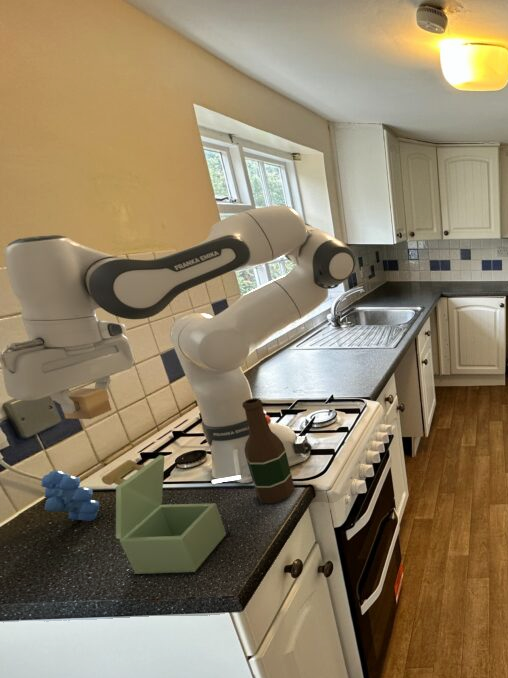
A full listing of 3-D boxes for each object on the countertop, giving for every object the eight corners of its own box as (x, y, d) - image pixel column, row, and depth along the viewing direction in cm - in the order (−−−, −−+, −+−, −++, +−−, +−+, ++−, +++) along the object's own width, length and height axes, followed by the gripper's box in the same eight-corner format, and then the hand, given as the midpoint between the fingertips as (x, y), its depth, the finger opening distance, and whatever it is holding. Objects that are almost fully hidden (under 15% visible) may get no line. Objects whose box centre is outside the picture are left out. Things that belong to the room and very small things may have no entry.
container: (226, 534, 84) (215, 503, 81) (194, 572, 75) (181, 539, 72) (173, 535, 83) (160, 504, 80) (134, 574, 74) (119, 540, 71)
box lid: (164, 456, 76) (136, 449, 75) (121, 488, 67) (88, 480, 67) (161, 503, 80) (135, 497, 79) (120, 539, 71) (90, 532, 70)
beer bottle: (279, 480, 100) (255, 391, 91) (302, 488, 98) (280, 396, 88) (249, 499, 94) (221, 405, 84) (274, 508, 91) (247, 411, 82)
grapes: (36, 528, 85) (9, 480, 81) (75, 507, 91) (52, 461, 87) (78, 537, 83) (53, 488, 78) (115, 515, 89) (93, 468, 84)
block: (111, 410, 79) (105, 388, 78) (90, 419, 75) (83, 396, 74) (87, 409, 79) (81, 388, 78) (65, 418, 75) (57, 396, 73)
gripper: (19, 347, 62) (47, 429, 67) (132, 323, 82) (148, 388, 86) (-25, 345, 62) (6, 428, 66) (99, 322, 81) (116, 387, 86)
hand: (87, 405), depth 76 cm, fingers closed on block, 4 cm apart
